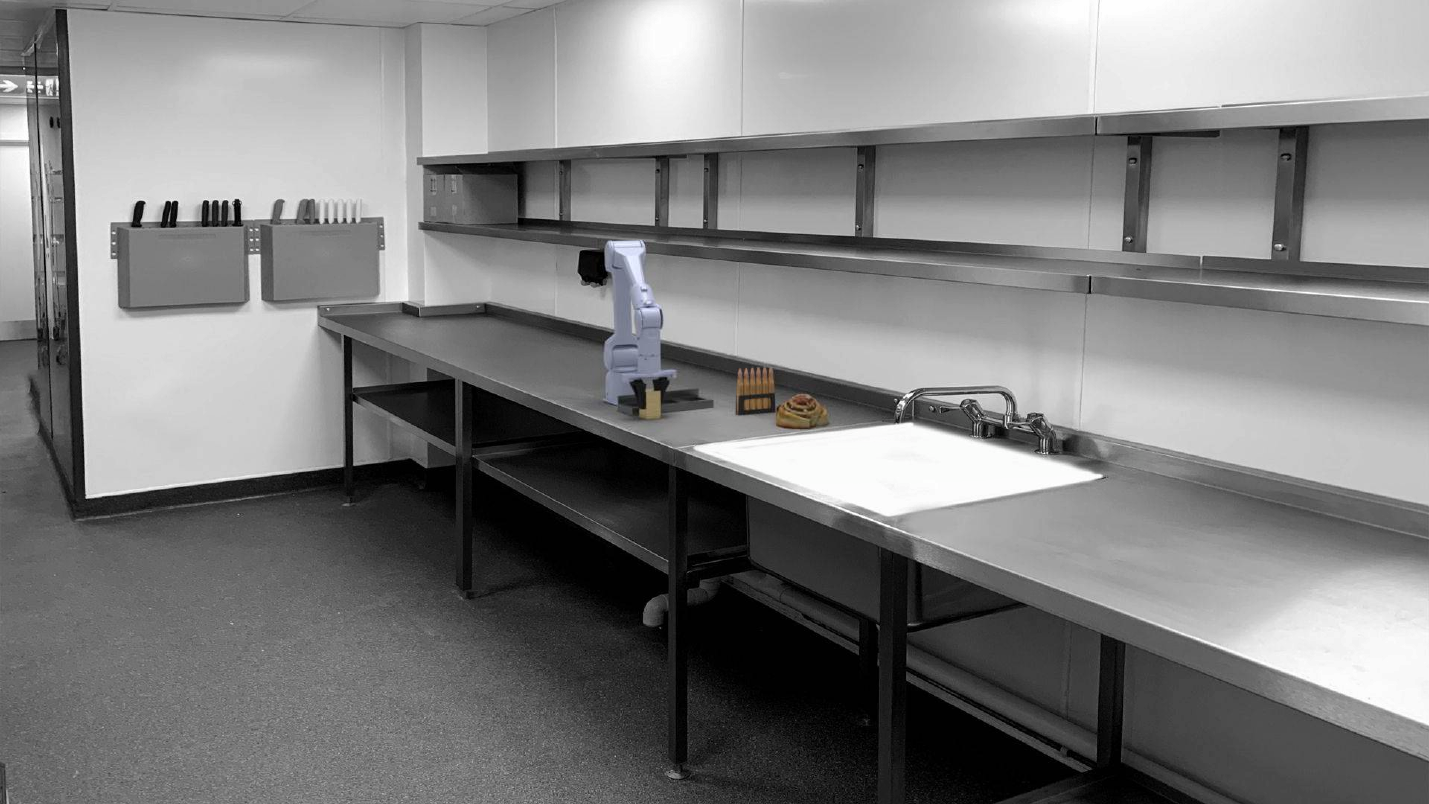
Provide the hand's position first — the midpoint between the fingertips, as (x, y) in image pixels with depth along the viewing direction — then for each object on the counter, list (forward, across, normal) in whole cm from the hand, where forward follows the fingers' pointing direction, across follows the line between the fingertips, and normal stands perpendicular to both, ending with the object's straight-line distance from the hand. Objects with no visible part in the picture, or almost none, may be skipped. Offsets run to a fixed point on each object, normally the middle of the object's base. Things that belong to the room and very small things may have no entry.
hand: (649, 408), depth 305 cm
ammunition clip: (+3, +26, -9) cm, 28 cm away
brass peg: (+2, 0, 0) cm, 2 cm away
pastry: (+3, +28, -27) cm, 39 cm away
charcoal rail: (+2, +9, +8) cm, 12 cm away
